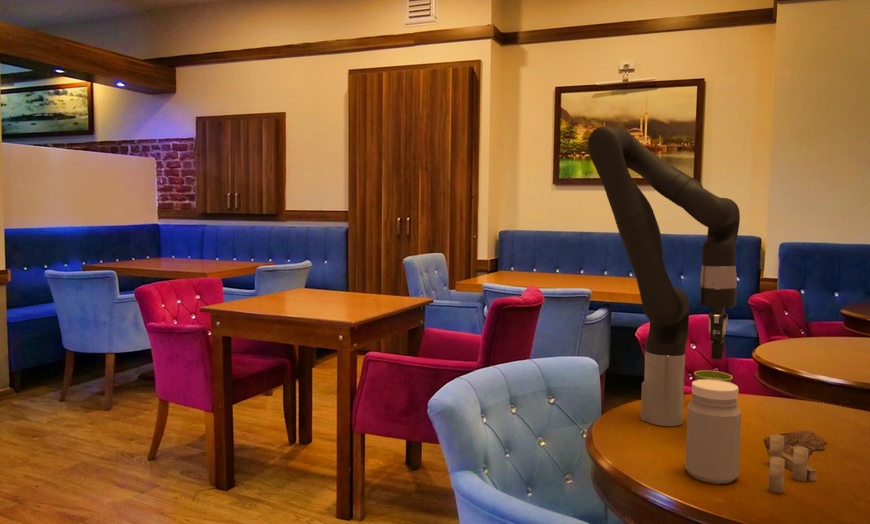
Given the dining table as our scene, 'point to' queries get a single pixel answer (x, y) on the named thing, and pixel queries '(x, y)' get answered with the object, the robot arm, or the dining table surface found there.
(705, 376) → the plant pot
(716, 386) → the jar
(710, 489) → the dining table surface
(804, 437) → the wooden fragment
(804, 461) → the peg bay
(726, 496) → the dining table surface
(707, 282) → the robot arm
